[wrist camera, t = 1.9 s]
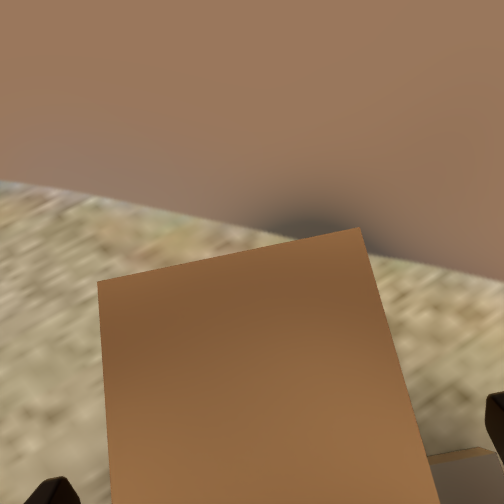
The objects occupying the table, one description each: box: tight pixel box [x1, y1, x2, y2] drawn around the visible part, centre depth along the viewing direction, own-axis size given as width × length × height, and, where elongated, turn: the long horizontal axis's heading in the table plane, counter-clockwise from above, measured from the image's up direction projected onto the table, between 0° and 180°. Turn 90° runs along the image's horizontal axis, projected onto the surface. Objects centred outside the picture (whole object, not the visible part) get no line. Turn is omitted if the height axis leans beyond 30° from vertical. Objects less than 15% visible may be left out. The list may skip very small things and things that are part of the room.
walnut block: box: [97, 227, 440, 504], centre depth 12 cm, size 4×4×12 cm
